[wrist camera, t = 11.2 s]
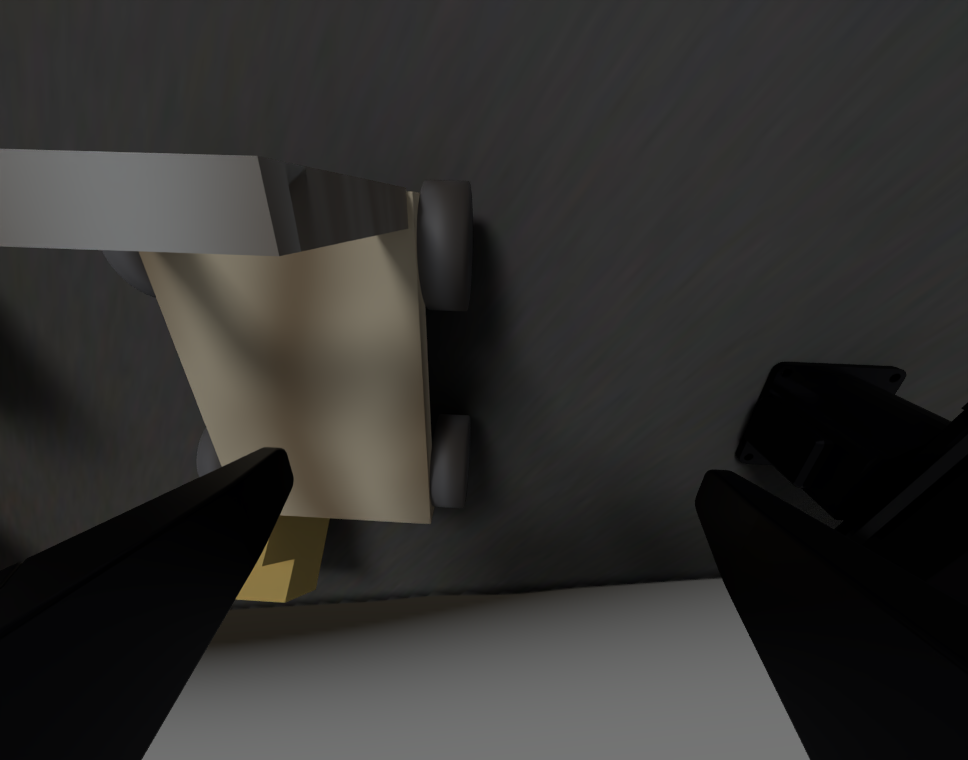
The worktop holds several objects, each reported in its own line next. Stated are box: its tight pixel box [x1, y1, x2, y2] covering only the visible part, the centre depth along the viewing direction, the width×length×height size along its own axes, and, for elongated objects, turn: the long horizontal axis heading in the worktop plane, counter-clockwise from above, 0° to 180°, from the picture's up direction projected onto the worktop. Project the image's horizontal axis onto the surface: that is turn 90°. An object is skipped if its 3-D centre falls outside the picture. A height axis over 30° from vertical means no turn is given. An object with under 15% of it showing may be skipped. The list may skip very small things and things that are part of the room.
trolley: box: [0, 149, 473, 524], centre depth 14 cm, size 13×16×13 cm
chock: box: [236, 515, 330, 602], centre depth 21 cm, size 5×7×5 cm
